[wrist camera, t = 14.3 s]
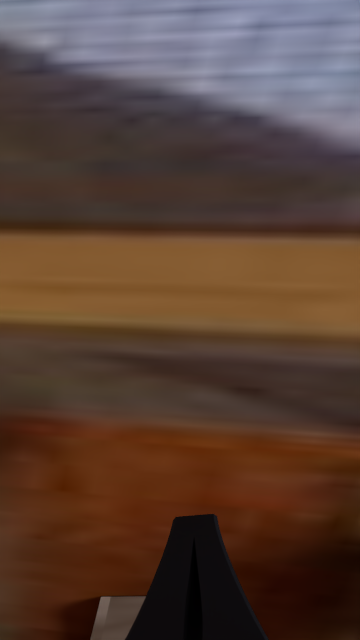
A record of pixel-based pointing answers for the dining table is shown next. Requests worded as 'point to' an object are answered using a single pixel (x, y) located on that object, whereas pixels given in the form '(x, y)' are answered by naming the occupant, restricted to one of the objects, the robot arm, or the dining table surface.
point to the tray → (116, 617)
